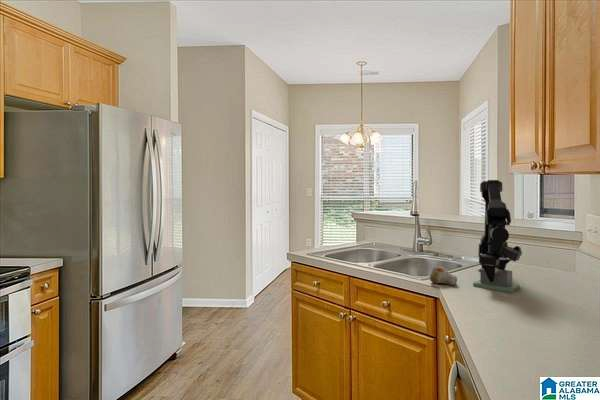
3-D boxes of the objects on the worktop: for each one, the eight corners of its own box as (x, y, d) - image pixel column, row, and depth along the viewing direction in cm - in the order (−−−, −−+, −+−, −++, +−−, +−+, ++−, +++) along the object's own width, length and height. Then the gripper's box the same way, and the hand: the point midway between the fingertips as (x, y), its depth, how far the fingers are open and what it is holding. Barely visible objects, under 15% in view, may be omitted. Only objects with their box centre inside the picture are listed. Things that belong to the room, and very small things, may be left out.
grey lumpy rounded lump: (455, 288, 174) (442, 265, 175) (435, 295, 181) (422, 272, 182) (463, 280, 180) (450, 257, 180) (443, 287, 186) (430, 265, 187)
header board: (482, 281, 183) (482, 271, 183) (519, 287, 173) (519, 276, 173) (473, 285, 177) (473, 275, 176) (511, 292, 167) (511, 280, 167)
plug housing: (485, 280, 180) (485, 267, 180) (512, 284, 173) (512, 270, 173) (480, 282, 177) (480, 269, 176) (507, 286, 170) (507, 273, 169)
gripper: (509, 244, 162) (509, 288, 163) (527, 238, 175) (527, 278, 176) (478, 241, 169) (478, 283, 170) (497, 235, 183) (497, 274, 184)
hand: (496, 279), depth 175 cm, fingers open, 9 cm apart
